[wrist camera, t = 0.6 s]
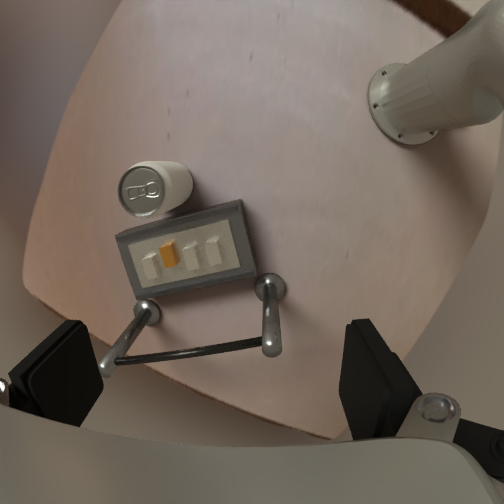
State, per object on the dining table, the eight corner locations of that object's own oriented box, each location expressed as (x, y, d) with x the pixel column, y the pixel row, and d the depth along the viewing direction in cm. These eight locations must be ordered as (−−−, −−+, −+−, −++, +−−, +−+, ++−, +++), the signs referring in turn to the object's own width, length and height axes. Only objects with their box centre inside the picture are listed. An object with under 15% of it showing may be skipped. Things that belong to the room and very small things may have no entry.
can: (197, 202, 44) (174, 214, 33) (155, 210, 45) (120, 226, 33) (189, 157, 43) (162, 154, 31) (146, 167, 43) (109, 169, 32)
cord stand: (281, 270, 46) (289, 326, 30) (287, 297, 47) (297, 362, 31) (131, 301, 49) (82, 357, 32) (140, 325, 50) (97, 386, 33)
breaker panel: (240, 198, 44) (237, 203, 38) (257, 266, 46) (256, 280, 41) (125, 229, 46) (109, 238, 40) (145, 290, 48) (132, 305, 42)
